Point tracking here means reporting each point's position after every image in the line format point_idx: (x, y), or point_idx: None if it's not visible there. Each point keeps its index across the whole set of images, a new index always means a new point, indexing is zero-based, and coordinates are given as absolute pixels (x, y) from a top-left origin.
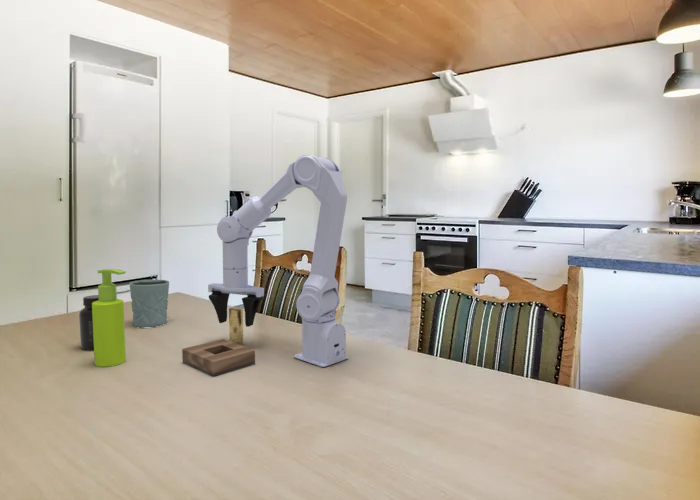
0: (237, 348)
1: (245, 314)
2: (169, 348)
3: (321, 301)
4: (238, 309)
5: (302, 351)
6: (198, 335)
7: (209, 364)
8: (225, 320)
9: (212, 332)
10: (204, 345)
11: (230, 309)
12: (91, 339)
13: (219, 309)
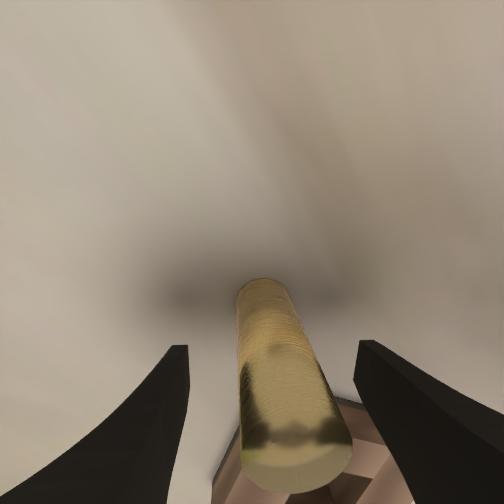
0: (380, 470)
1: (398, 460)
2: (62, 419)
3: None
4: (336, 469)
5: None
6: (3, 254)
7: None
8: (187, 357)
9: (17, 183)
10: (254, 489)
11: (277, 492)
12: None
13: (168, 484)
